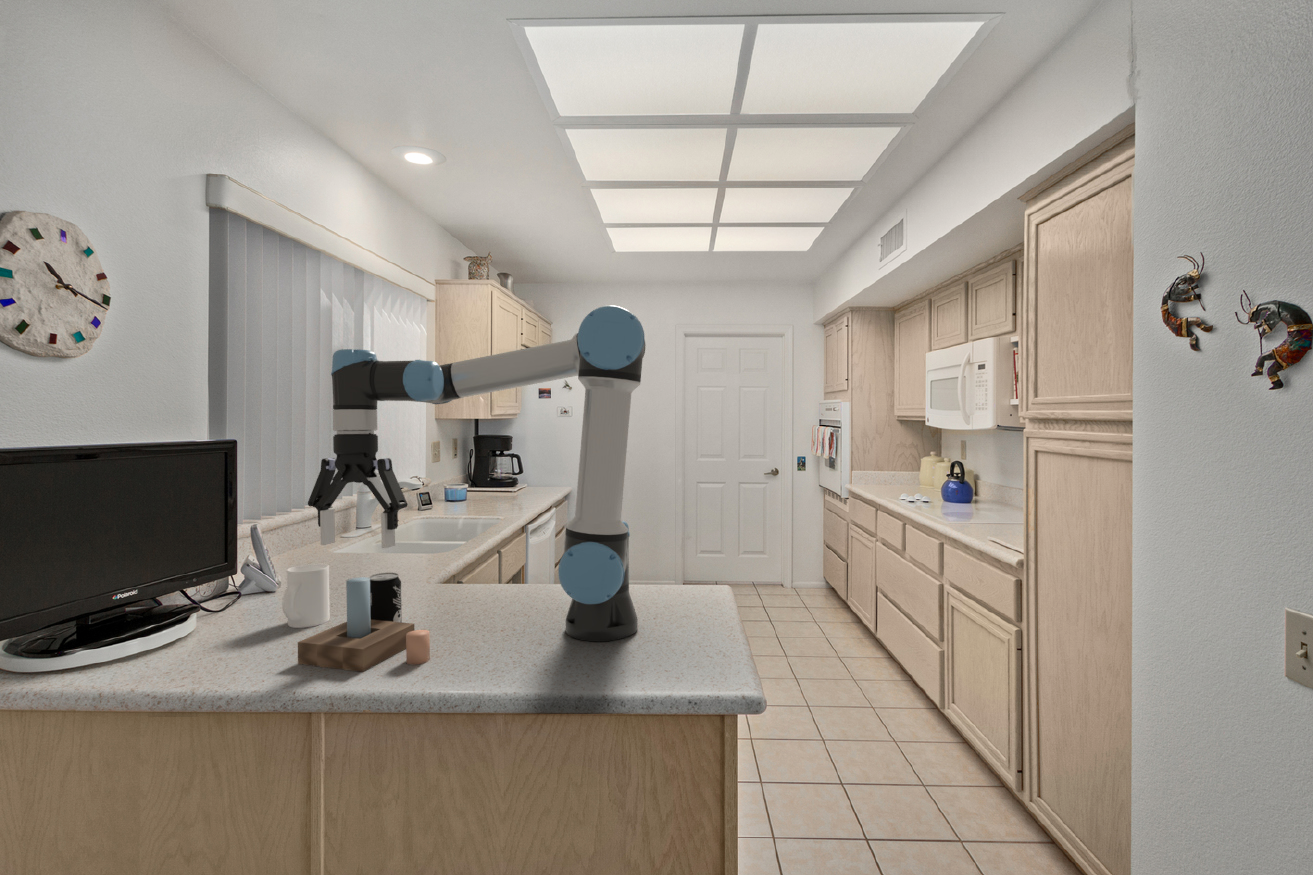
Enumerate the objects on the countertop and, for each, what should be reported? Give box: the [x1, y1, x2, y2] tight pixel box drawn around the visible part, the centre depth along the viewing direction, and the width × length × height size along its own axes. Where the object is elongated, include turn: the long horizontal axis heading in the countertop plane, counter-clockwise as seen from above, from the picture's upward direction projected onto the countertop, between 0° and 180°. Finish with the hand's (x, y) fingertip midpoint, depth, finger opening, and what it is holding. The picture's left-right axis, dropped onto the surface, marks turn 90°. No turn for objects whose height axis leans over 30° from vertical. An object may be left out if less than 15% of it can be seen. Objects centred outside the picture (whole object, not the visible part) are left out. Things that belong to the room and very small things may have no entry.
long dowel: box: [345, 576, 371, 639], centre depth 114 cm, size 4×4×14 cm
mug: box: [281, 563, 331, 629], centre depth 130 cm, size 8×12×12 cm
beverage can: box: [368, 572, 403, 622], centre depth 125 cm, size 7×7×12 cm
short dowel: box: [405, 629, 431, 666], centre depth 111 cm, size 4×4×5 cm
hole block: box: [297, 620, 415, 673], centre depth 114 cm, size 14×14×4 cm
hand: (357, 545), depth 114 cm, fingers open, 13 cm apart
